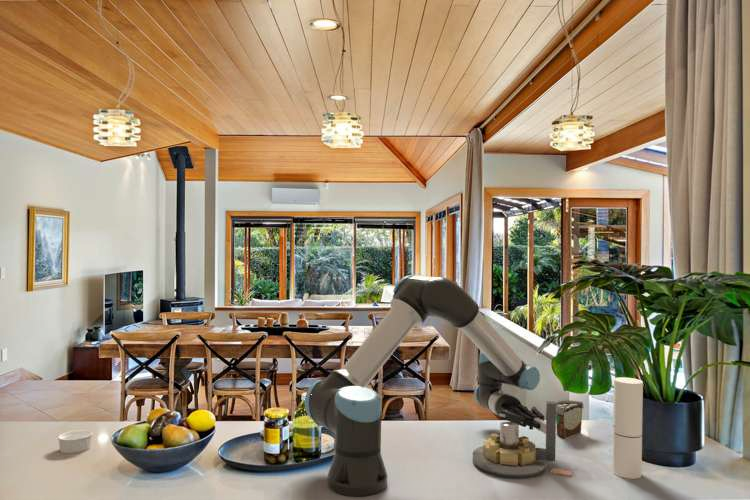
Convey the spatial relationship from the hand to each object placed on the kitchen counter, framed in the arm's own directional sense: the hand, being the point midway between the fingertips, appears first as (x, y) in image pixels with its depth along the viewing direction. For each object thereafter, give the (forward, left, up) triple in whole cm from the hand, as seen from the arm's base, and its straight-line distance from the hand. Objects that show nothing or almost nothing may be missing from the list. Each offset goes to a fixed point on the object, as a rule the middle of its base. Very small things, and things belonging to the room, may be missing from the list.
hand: (549, 429), depth 155 cm
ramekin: (-129, +43, -10) cm, 136 cm away
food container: (+20, +23, -10) cm, 32 cm away
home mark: (0, -5, -10) cm, 11 cm away
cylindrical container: (+18, -9, -10) cm, 23 cm away
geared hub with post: (-8, +2, -8) cm, 11 cm away
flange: (-10, +4, -10) cm, 15 cm away
